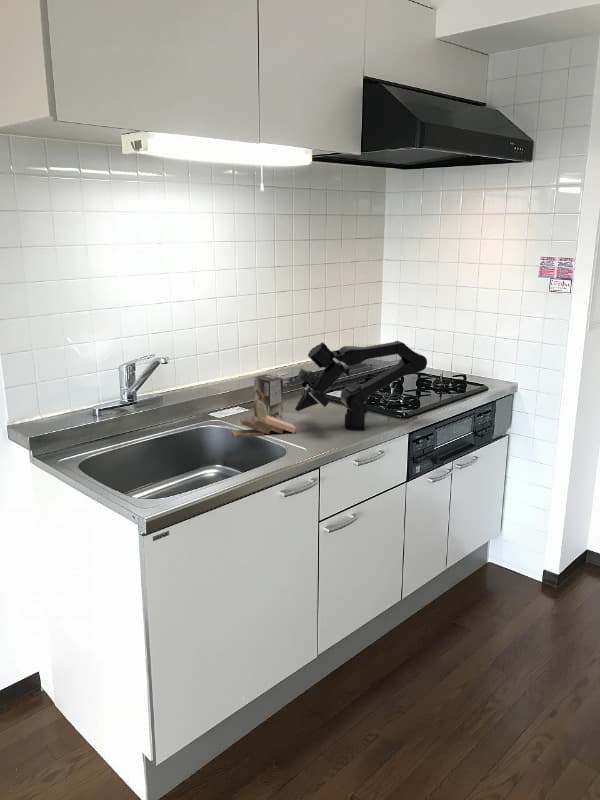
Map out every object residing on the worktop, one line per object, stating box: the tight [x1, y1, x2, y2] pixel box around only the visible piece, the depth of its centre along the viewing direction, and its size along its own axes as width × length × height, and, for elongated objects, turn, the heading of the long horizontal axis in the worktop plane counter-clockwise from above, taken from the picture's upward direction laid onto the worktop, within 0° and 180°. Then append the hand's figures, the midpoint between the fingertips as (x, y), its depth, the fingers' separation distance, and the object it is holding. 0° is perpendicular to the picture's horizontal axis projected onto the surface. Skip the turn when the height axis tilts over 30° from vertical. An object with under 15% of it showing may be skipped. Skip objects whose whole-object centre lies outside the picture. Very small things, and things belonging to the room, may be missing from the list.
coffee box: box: [253, 374, 284, 421], centre depth 233 cm, size 9×6×16 cm
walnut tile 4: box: [231, 428, 265, 439], centre depth 220 cm, size 2×5×10 cm
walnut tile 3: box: [239, 415, 272, 435], centre depth 221 cm, size 2×5×10 cm
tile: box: [265, 415, 297, 434], centre depth 223 cm, size 2×5×10 cm
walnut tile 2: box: [251, 416, 285, 435], centre depth 222 cm, size 2×5×10 cm
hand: (296, 410), depth 222 cm, fingers closed
